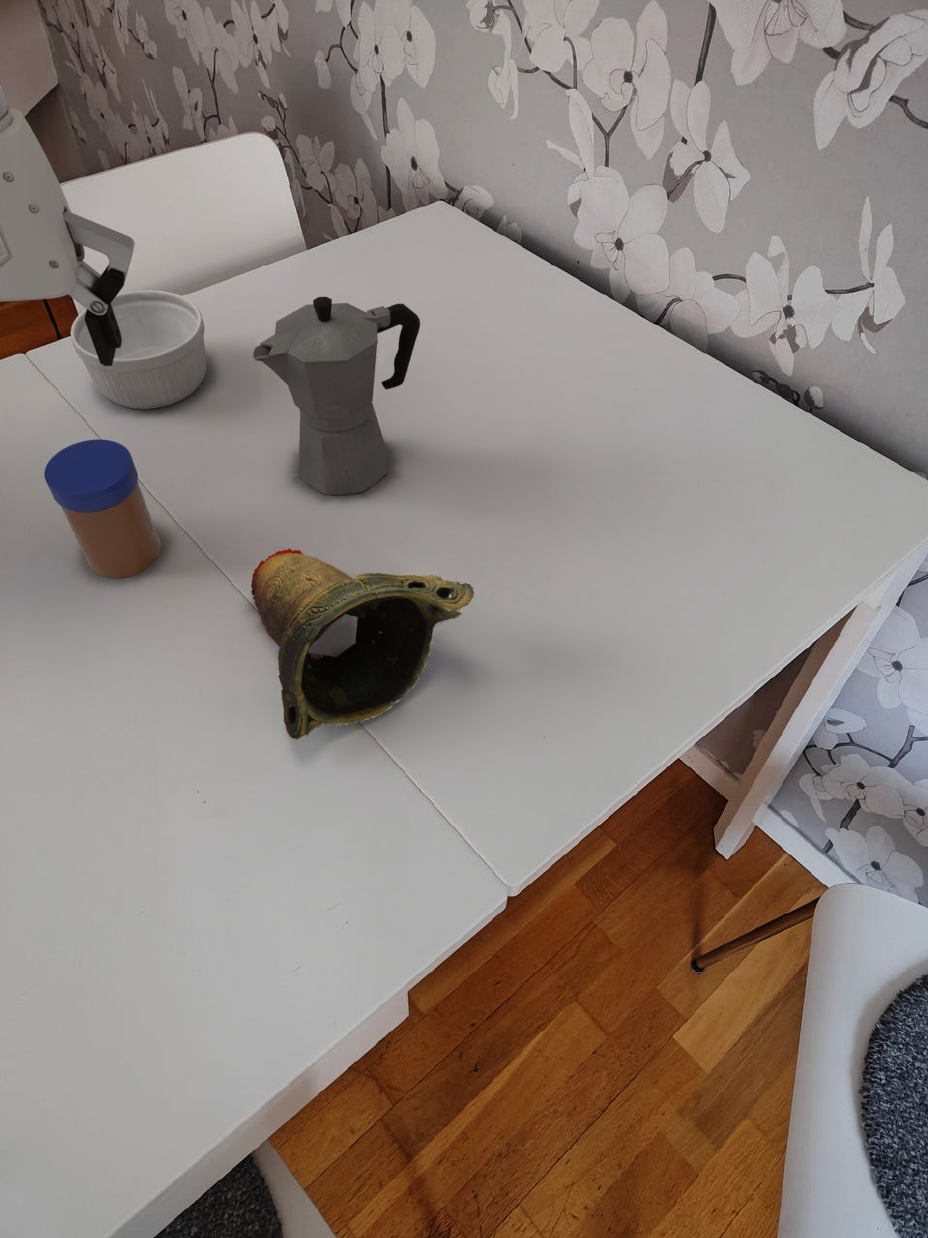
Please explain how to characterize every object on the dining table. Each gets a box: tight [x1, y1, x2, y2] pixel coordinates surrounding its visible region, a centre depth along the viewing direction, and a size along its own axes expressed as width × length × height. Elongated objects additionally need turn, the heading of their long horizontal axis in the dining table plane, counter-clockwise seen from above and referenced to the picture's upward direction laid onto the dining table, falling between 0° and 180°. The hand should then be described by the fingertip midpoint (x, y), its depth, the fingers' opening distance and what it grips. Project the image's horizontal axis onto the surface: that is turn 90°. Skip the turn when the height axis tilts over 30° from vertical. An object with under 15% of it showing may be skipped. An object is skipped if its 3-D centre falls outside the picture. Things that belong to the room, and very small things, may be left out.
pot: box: [250, 547, 475, 741], centre depth 68 cm, size 17×11×18 cm
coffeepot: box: [252, 296, 421, 496], centre depth 79 cm, size 15×9×18 cm, turn 118°
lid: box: [43, 438, 139, 512], centre depth 71 cm, size 7×7×2 cm
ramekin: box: [70, 289, 207, 410], centre depth 92 cm, size 13×13×7 cm
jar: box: [60, 481, 162, 579], centre depth 75 cm, size 6×6×10 cm
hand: (43, 358), depth 63 cm, fingers open, 9 cm apart
